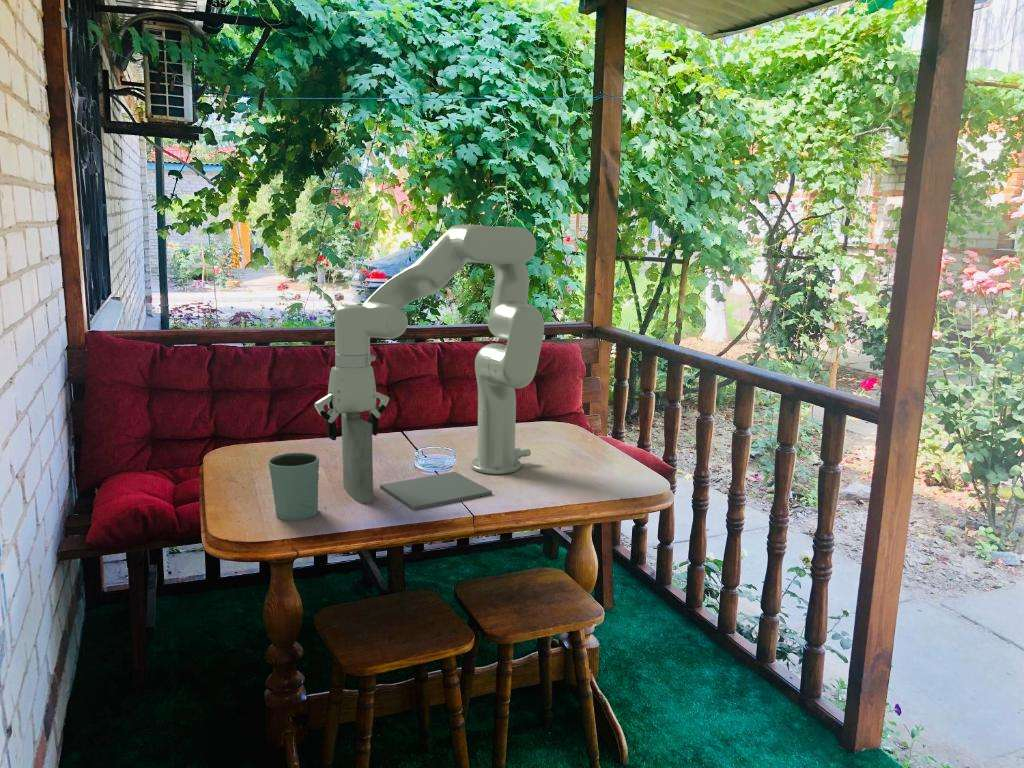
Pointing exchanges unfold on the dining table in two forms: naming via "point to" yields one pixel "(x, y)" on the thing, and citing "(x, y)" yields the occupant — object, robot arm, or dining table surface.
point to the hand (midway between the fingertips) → (352, 436)
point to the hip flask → (357, 457)
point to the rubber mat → (434, 490)
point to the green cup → (295, 485)
